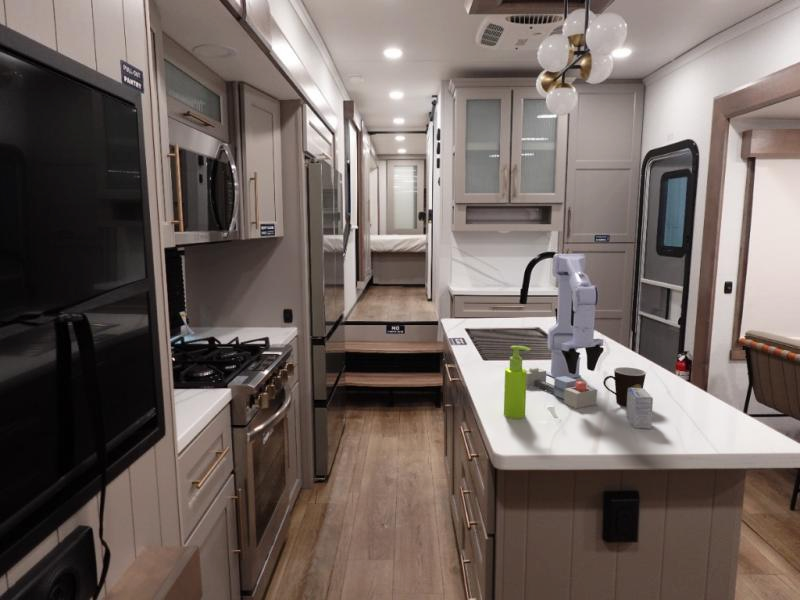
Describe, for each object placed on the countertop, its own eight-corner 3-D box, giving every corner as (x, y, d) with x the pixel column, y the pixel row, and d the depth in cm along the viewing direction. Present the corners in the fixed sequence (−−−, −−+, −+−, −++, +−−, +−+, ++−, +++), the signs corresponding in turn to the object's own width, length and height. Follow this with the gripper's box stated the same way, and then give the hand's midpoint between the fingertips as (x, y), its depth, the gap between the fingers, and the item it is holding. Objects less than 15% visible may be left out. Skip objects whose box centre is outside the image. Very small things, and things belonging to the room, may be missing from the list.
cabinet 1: (539, 381, 172) (540, 365, 171) (545, 383, 169) (546, 368, 168) (521, 384, 168) (521, 368, 167) (527, 387, 165) (527, 371, 165)
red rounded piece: (580, 391, 151) (581, 380, 151) (588, 394, 149) (588, 383, 148) (573, 393, 150) (573, 382, 149) (580, 396, 147) (581, 384, 147)
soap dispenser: (524, 420, 137) (527, 349, 134) (500, 416, 140) (502, 346, 137) (531, 414, 142) (533, 345, 139) (508, 409, 145) (509, 342, 142)
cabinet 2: (583, 399, 154) (584, 385, 153) (596, 404, 149) (597, 389, 148) (563, 403, 150) (564, 388, 150) (576, 408, 146) (576, 393, 145)
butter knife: (553, 403, 150) (543, 403, 150) (573, 436, 126) (561, 436, 126) (553, 404, 150) (543, 404, 150) (573, 438, 126) (561, 438, 126)
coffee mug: (641, 400, 152) (643, 368, 151) (645, 410, 144) (647, 376, 143) (600, 396, 156) (602, 365, 155) (602, 405, 148) (604, 373, 147)
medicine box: (651, 429, 131) (653, 397, 129) (633, 428, 131) (635, 396, 130) (642, 418, 138) (644, 388, 137) (625, 417, 139) (627, 387, 138)
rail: (538, 385, 168) (539, 379, 167) (576, 400, 152) (576, 394, 152) (534, 385, 167) (534, 380, 166) (571, 401, 152) (571, 395, 151)
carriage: (564, 392, 158) (565, 376, 158) (576, 397, 154) (577, 380, 153) (553, 394, 157) (554, 377, 156) (565, 399, 152) (566, 382, 151)
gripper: (575, 331, 140) (572, 378, 142) (612, 327, 146) (610, 372, 148) (557, 327, 146) (555, 372, 148) (593, 323, 152) (591, 366, 154)
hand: (581, 371), depth 148 cm, fingers open, 7 cm apart
